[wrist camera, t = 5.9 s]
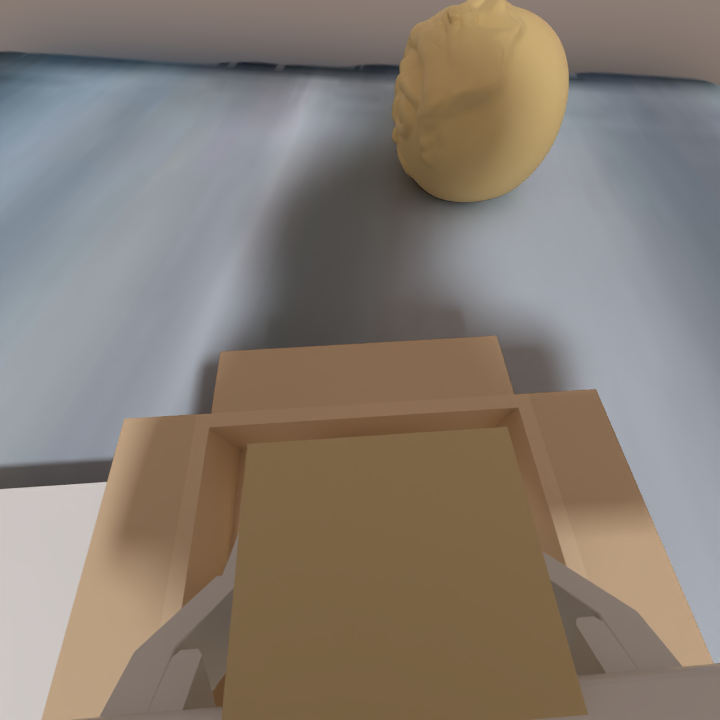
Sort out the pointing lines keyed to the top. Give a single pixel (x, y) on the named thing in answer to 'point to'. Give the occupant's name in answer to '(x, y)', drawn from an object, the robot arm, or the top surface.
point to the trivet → (39, 585)
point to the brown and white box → (393, 585)
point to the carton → (338, 420)
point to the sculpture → (478, 99)
